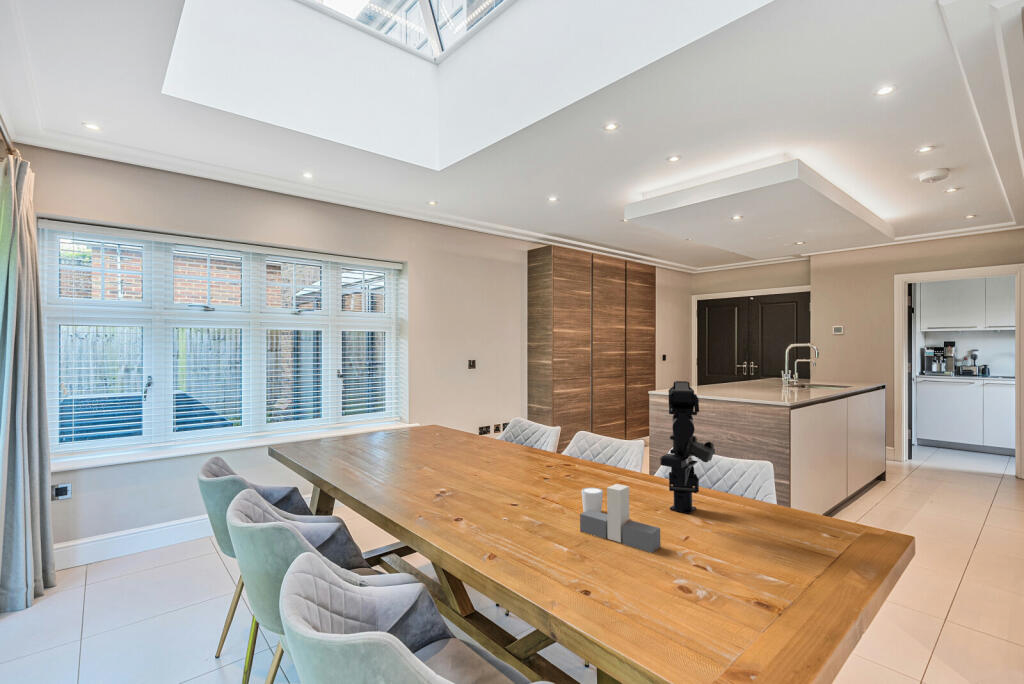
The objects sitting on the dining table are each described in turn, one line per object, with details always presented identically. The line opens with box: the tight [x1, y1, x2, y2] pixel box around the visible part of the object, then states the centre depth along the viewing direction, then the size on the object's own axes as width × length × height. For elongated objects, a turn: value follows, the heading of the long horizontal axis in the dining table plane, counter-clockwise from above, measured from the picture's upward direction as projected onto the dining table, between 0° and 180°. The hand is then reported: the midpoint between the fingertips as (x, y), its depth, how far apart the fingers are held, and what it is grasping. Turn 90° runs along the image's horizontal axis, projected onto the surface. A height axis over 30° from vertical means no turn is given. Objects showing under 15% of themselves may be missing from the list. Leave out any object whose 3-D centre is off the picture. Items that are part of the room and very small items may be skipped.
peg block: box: [606, 483, 630, 544], centre depth 132 cm, size 5×4×14 cm
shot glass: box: [581, 487, 604, 513], centre depth 154 cm, size 7×7×7 cm
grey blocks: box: [579, 510, 662, 554], centre depth 132 cm, size 5×22×5 cm, turn 48°
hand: (683, 485), depth 141 cm, fingers closed
